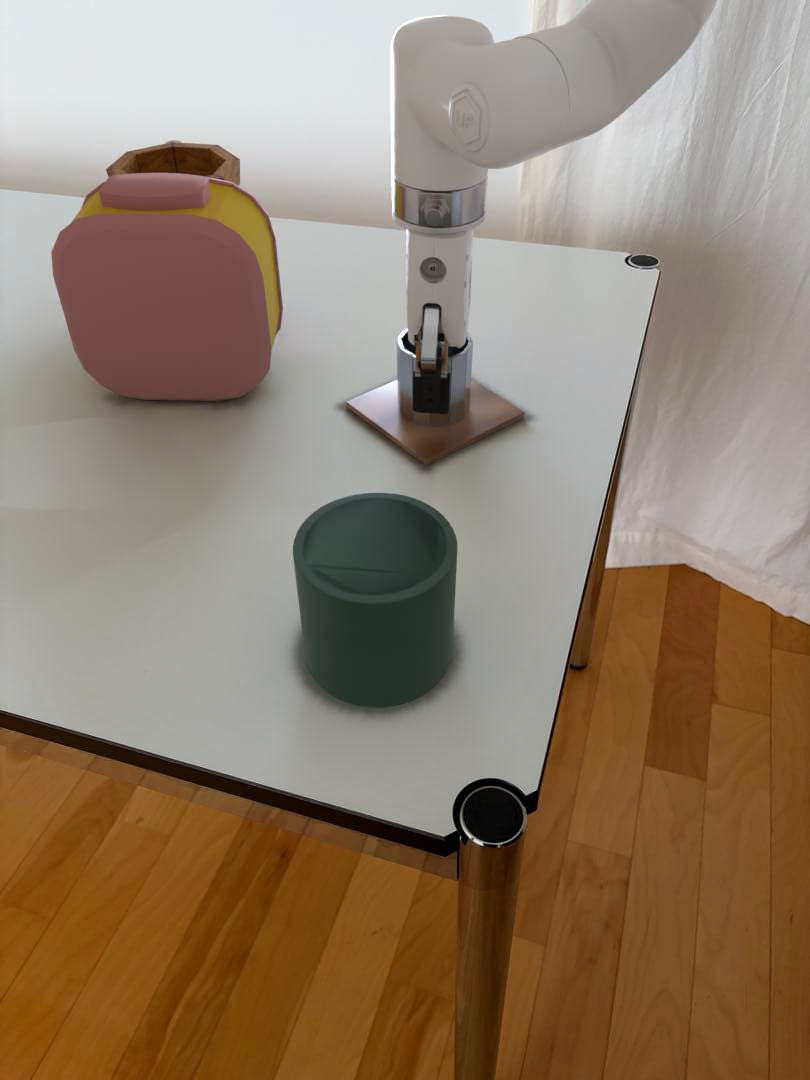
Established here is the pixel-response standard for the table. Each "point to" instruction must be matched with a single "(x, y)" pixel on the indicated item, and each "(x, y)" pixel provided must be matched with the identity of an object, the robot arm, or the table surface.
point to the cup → (458, 381)
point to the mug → (180, 161)
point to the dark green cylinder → (376, 597)
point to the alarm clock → (170, 287)
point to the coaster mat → (434, 441)
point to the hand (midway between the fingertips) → (434, 387)
